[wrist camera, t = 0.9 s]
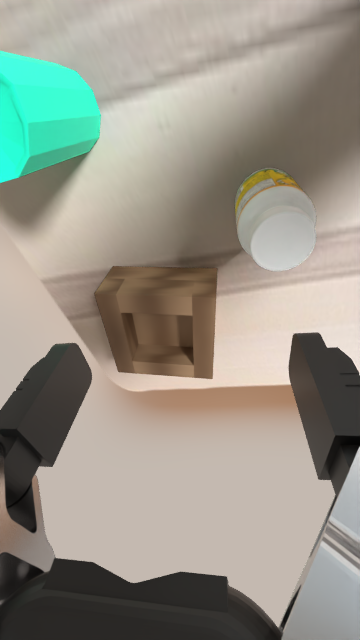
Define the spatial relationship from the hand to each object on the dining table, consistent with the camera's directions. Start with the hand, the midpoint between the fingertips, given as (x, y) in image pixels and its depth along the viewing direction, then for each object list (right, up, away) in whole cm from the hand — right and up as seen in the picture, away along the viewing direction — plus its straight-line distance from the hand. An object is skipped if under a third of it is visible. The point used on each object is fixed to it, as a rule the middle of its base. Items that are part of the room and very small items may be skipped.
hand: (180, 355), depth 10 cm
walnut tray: (-1, +3, +24) cm, 24 cm away
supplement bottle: (+8, +12, +14) cm, 20 cm away
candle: (-9, +19, +12) cm, 24 cm away
